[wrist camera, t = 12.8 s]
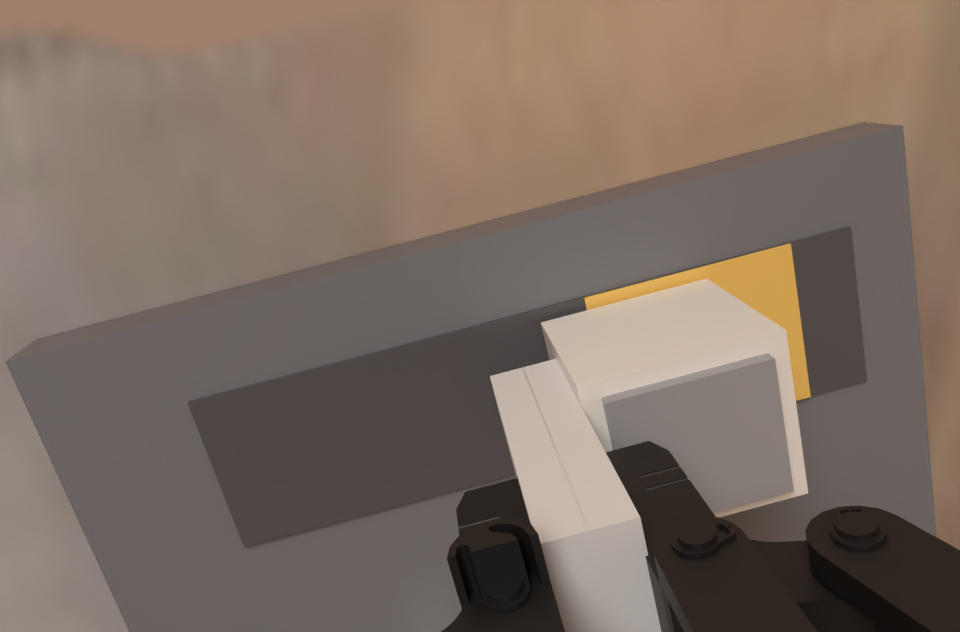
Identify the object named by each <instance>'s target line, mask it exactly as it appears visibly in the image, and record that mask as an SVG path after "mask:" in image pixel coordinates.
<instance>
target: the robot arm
mask: <svg viewBox="0 0 960 632" xmlns="http://www.w3.org/2000/svg"><path fill="white" fill-rule="evenodd" d="M490 379H491V383H492V387H493V391H494V394H495V398H496V402H497V406H498V410H499V414H500V417H501V421H502V425H503V429H504V433H505V437H506V440H507V444H508V448H509V452H510V456H511V460H512V463H513V467H514V471H515V475H516V478H515V479H511V480H507V481H504V482H500V483H496V484H492V485H489V486H485V487H481V488H477V489H474V490H470V491H466V492H465V493H464V495H463V497H462V499H461V501H460V503H459V505H458V507H457V508H456V512H457V521H458V528H459V529H458V530H459V536H458V537H457V539H456V540H455V541H454V542H453V544H452V545H451V546H450V547H449V551H448V555H447V561H448V564H449V568H450V571H451V574H452V578H453V581H454V584H455V588H456V591H457V594H458V598H459V601H460V604H461V609H462V610H461V612H460V613H459V615H458V616H457V617H456V619H455V620H454V621H453V622H452V623H451V624H450V625H449V626H448V627H447V628H445V629H444V630H443V631H441V632H960V550H958V549H956V548H954V547H953V546H951V545H949V544H947V543H945V542H944V541H942V540H940V539H938V538H936V537H935V536H933V535H931V534H929V533H928V532H926V531H924V530H922V529H920V528H919V527H917V526H915V525H913V524H911V523H910V522H908V521H906V520H904V519H903V518H901V517H899V516H897V515H895V514H892V513H890V512H887V511H885V510H882V509H879V508H873V507H866V506H843V507H837V508H834V509H830V510H827V511H823V512H822V513H820V514H819V515H817V516H816V517H814V518H813V519H811V520H810V522H809V524H808V526H807V528H806V530H805V533H806V541H786V542H763V541H757V540H751V539H748V537H747V536H746V534H745V533H744V532H743V531H742V530H741V529H740V528H739V527H738V526H736V525H735V524H734V523H733V522H730V521H727V520H724V519H722V518H719V517H716V516H715V515H714V513H713V512H712V511H711V509H710V508H709V506H708V505H707V504H706V502H705V501H704V499H703V498H702V497H701V495H700V494H699V492H698V491H697V490H696V488H695V487H694V485H693V484H692V482H691V481H690V480H688V478H687V475H686V474H685V473H684V471H683V470H682V468H680V467H679V464H678V463H677V461H676V460H675V459H674V457H673V456H672V454H671V453H670V451H669V450H667V449H665V448H663V447H661V446H659V445H657V444H655V443H653V442H651V441H646V442H642V443H639V444H635V445H631V446H627V447H624V448H620V449H616V450H612V451H609V452H605V450H604V448H603V446H602V445H601V443H600V441H599V439H598V437H597V435H596V433H595V432H594V430H593V428H592V426H591V424H590V422H589V420H588V418H587V417H586V415H585V413H584V411H583V409H582V407H581V405H580V404H579V402H578V400H577V398H576V396H575V394H574V392H573V390H572V389H571V387H570V385H569V383H568V381H567V379H566V377H565V376H564V374H563V372H562V370H561V368H560V366H559V365H558V363H557V361H556V359H553V360H549V361H545V362H541V363H538V364H534V365H530V366H526V367H522V368H519V369H515V370H511V371H507V372H504V373H500V374H496V375H492V376H490Z"/></svg>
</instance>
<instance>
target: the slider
mask: <svg viewBox="0 0 960 632" xmlns="http://www.w3.org/2000/svg"><path fill="white" fill-rule="evenodd" d="M541 327H542V331H543V335H544V339H545V344H546V348H547V352H548V356H549V360H553V359H556V361H557V363H558V365H559V366H560V368H561V370H562V372H563V374H564V376H565V377H566V379H567V381H568V383H569V385H570V387H571V389H572V390H573V392H574V394H575V396H576V398H577V400H578V402H579V404H580V405H581V407H582V409H583V411H584V413H585V415H586V417H587V418H588V420H589V422H590V424H591V426H592V428H593V430H594V432H595V433H596V435H597V437H598V439H599V441H600V443H601V445H602V446H603V448H604V450H605V452H609V451H612V450H616V449H620V448H624V447H627V446H631V445H635V444H639V443H642V442H646V441H651V442H653V443H655V444H657V445H659V446H661V447H663V448H665V449H667V450H669V451H670V453H671V454H672V456H673V457H674V459H675V460H676V461H677V463H678V464H679V467H680V468H682V470H683V471H684V473H685V474H686V475H687V478H688V480H690V481H691V482H692V484H693V485H694V487H695V488H696V490H697V491H698V492H699V494H700V495H701V497H702V498H703V499H704V501H705V502H706V504H707V505H708V506H709V508H710V509H711V511H712V512H713V513H714V515H715V516H716V517H723V516H726V515H730V514H734V513H738V512H741V511H745V510H749V509H752V508H756V507H760V506H763V505H767V504H771V503H774V502H778V501H782V500H786V499H789V498H793V497H797V496H800V495H804V494H808V487H807V480H806V472H805V465H804V457H803V450H802V443H801V435H800V428H799V421H798V413H797V406H796V398H795V391H794V384H793V376H792V369H791V362H790V354H789V347H788V339H787V332H786V330H785V329H784V328H782V327H781V326H779V325H778V324H776V323H775V322H773V321H771V320H770V319H768V318H767V317H765V316H764V315H762V314H761V313H759V312H758V311H756V310H755V309H753V308H751V307H750V306H748V305H747V304H745V303H744V302H742V301H741V300H739V299H738V298H736V297H734V296H733V295H731V294H730V293H728V292H727V291H725V290H724V289H722V288H721V287H719V286H718V285H716V284H714V283H713V282H711V281H710V280H708V279H703V280H699V281H696V282H692V283H688V284H684V285H680V286H677V287H673V288H669V289H665V290H662V291H658V292H654V293H650V294H647V295H643V296H639V297H635V298H631V299H628V300H624V301H620V302H616V303H613V304H609V305H605V306H601V307H597V308H594V309H590V310H586V311H582V312H579V313H575V314H571V315H567V316H563V317H560V318H556V319H552V320H548V321H545V322H541Z"/></svg>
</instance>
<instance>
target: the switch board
mask: <svg viewBox="0 0 960 632" xmlns="http://www.w3.org/2000/svg"><path fill="white" fill-rule="evenodd" d="M703 279H708V280H710V281H711V282H713V283H714V284H716V285H718V286H719V287H721V288H722V289H724V290H725V291H727V292H728V293H730V294H731V295H733V296H734V297H736V298H738V299H739V300H741V301H742V302H744V303H745V304H747V305H748V306H750V307H751V308H753V309H755V310H756V311H758V312H759V313H761V314H762V315H764V316H765V317H767V318H768V319H770V320H771V321H773V322H775V323H776V324H778V325H779V326H781V327H782V328H784V329H785V330H786V332H787V339H788V347H789V354H790V362H791V369H792V376H793V384H794V391H795V398H796V406H797V413H798V421H799V428H800V435H801V443H802V450H803V457H804V465H805V472H806V480H807V487H808V494H804V495H800V496H797V497H793V498H789V499H786V500H782V501H778V502H774V503H771V504H767V505H763V506H760V507H756V508H752V509H749V510H745V511H741V512H738V513H734V514H730V515H726V516H723V517H719V518H722V519H724V520H727V521H730V522H733V523H734V524H735V525H736V526H738V527H739V528H740V529H741V530H742V531H743V532H744V533H745V534H746V536H747V537H748V539H751V540H757V541H763V542H786V541H806V533H805V530H806V528H807V526H808V524H809V522H810V520H811V519H813V518H814V517H816V516H817V515H819V514H820V513H822V512H823V511H827V510H830V509H834V508H837V507H843V506H866V507H873V508H879V509H882V510H885V511H887V512H890V513H892V514H895V515H897V516H899V517H901V518H903V519H904V520H906V521H908V522H910V523H911V524H913V525H915V526H917V527H919V528H920V529H922V530H924V531H926V532H928V533H929V534H931V535H933V536H935V537H936V527H935V515H934V502H933V490H932V478H931V465H930V453H929V441H928V428H927V416H926V404H925V392H924V379H923V367H922V355H921V342H920V330H919V318H918V305H917V293H916V281H915V268H914V256H913V244H912V231H911V219H910V207H909V194H908V182H907V170H906V157H905V145H904V133H903V126H900V125H889V124H877V123H866V122H864V123H860V124H856V125H852V126H848V127H844V128H841V129H837V130H833V131H829V132H825V133H822V134H818V135H814V136H810V137H806V138H803V139H799V140H795V141H791V142H787V143H784V144H780V145H776V146H772V147H768V148H764V149H761V150H757V151H753V152H749V153H745V154H742V155H738V156H734V157H730V158H726V159H723V160H719V161H715V162H711V163H707V164H703V165H700V166H696V167H692V168H688V169H684V170H681V171H677V172H673V173H669V174H665V175H662V176H658V177H654V178H650V179H646V180H642V181H639V182H635V183H631V184H627V185H623V186H620V187H616V188H612V189H608V190H604V191H601V192H597V193H593V194H589V195H585V196H582V197H578V198H574V199H570V200H566V201H562V202H559V203H555V204H551V205H547V206H543V207H540V208H536V209H532V210H528V211H524V212H521V213H517V214H513V215H509V216H505V217H501V218H498V219H494V220H490V221H486V222H482V223H479V224H475V225H471V226H467V227H463V228H460V229H456V230H452V231H448V232H444V233H440V234H437V235H433V236H429V237H425V238H421V239H418V240H414V241H410V242H406V243H402V244H399V245H395V246H391V247H387V248H383V249H380V250H376V251H372V252H368V253H364V254H360V255H357V256H353V257H349V258H345V259H341V260H338V261H334V262H330V263H326V264H322V265H319V266H315V267H311V268H307V269H303V270H299V271H296V272H292V273H288V274H284V275H280V276H277V277H273V278H269V279H265V280H261V281H258V282H254V283H250V284H246V285H242V286H238V287H235V288H231V289H227V290H223V291H219V292H216V293H212V294H208V295H204V296H200V297H197V298H193V299H189V300H185V301H181V302H178V303H174V304H170V305H166V306H162V307H158V308H155V309H151V310H147V311H143V312H139V313H136V314H132V315H128V316H124V317H120V318H117V319H113V320H109V321H105V322H101V323H97V324H94V325H90V326H86V327H82V328H78V329H75V330H71V331H67V332H63V333H59V334H56V335H52V336H48V337H44V338H40V339H37V340H35V341H34V342H33V343H31V344H30V345H28V346H27V347H25V348H24V349H23V350H21V351H20V352H18V353H17V354H15V355H14V356H13V357H11V358H10V359H8V360H7V361H5V362H6V364H7V366H8V368H9V370H10V373H11V375H12V377H13V379H14V381H15V383H16V386H17V388H18V390H19V392H20V394H21V396H22V399H23V401H24V403H25V405H26V407H27V410H28V412H29V414H30V416H31V418H32V420H33V423H34V425H35V427H36V429H37V431H38V433H39V436H40V438H41V440H42V442H43V444H44V447H45V449H46V451H47V453H48V455H49V457H50V460H51V462H52V464H53V466H54V468H55V470H56V473H57V475H58V477H59V479H60V481H61V484H62V486H63V488H64V490H65V492H66V494H67V497H68V499H69V501H70V503H71V505H72V507H73V510H74V512H75V514H76V516H77V518H78V521H79V523H80V525H81V527H82V529H83V531H84V534H85V536H86V538H87V540H88V542H89V544H90V547H91V549H92V551H93V553H94V555H95V558H96V560H97V562H98V564H99V566H100V568H101V571H102V573H103V575H104V577H105V579H106V581H107V584H108V586H109V588H110V590H111V592H112V595H113V597H114V599H115V601H116V603H117V605H118V608H119V610H120V612H121V614H122V616H123V618H124V621H125V623H126V625H127V627H128V629H129V632H441V631H443V630H444V629H445V628H447V627H448V626H449V625H450V624H451V623H452V622H453V621H454V620H455V619H456V617H457V616H458V615H459V613H460V612H461V610H462V609H461V604H460V601H459V598H458V594H457V591H456V588H455V584H454V581H453V578H452V574H451V571H450V568H449V564H448V561H447V555H448V551H449V547H450V546H451V545H452V544H453V542H454V541H455V540H456V539H457V537H458V536H459V530H458V529H459V528H458V521H457V512H456V508H457V507H458V505H459V503H460V501H461V499H462V497H463V495H464V493H465V492H466V491H470V490H474V489H477V488H481V487H485V486H489V485H492V484H496V483H500V482H504V481H507V480H511V479H515V478H516V475H515V471H514V467H513V463H512V460H511V456H510V452H509V448H508V444H507V440H506V437H505V433H504V429H503V425H502V421H501V417H500V414H499V410H498V406H497V402H496V398H495V394H494V391H493V387H492V383H491V379H490V376H492V375H496V374H500V373H504V372H507V371H511V370H515V369H519V368H522V367H526V366H530V365H534V364H538V363H541V362H545V361H549V356H548V352H547V348H546V344H545V339H544V335H543V331H542V327H541V322H545V321H548V320H552V319H556V318H560V317H563V316H567V315H571V314H575V313H579V312H582V311H586V310H590V309H594V308H597V307H601V306H605V305H609V304H613V303H616V302H620V301H624V300H628V299H631V298H635V297H639V296H643V295H647V294H650V293H654V292H658V291H662V290H665V289H669V288H673V287H677V286H680V285H684V284H688V283H692V282H696V281H699V280H703Z"/></svg>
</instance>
